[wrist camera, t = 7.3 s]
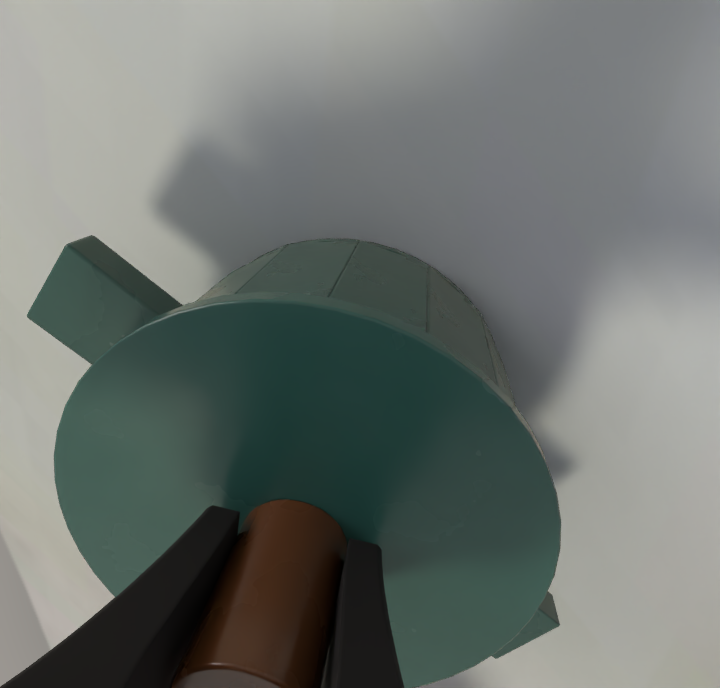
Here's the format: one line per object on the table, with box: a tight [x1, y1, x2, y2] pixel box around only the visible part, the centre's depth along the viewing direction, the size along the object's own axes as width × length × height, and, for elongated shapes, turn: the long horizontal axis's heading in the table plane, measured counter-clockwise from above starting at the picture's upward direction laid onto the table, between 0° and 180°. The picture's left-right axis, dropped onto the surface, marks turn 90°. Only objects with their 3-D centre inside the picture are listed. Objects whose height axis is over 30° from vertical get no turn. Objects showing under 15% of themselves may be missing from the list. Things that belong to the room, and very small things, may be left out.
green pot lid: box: [54, 292, 561, 688], centre depth 10 cm, size 11×11×5 cm
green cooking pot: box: [27, 235, 560, 659], centre depth 15 cm, size 11×16×5 cm, turn 50°
